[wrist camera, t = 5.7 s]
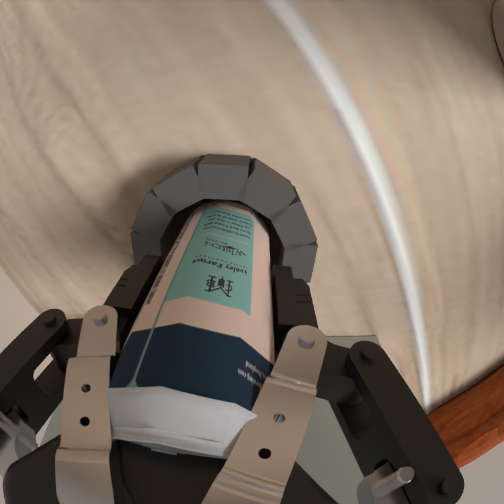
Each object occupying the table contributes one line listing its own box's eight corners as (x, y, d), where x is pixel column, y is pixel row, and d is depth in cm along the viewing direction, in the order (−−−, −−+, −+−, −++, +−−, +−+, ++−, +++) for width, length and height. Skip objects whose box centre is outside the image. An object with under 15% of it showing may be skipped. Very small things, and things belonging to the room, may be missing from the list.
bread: (417, 414, 30) (435, 475, 20) (552, 314, 21) (584, 360, 12) (428, 435, 36) (441, 480, 26) (537, 358, 27) (559, 396, 18)
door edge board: (102, 316, 20) (31, 469, 8) (376, 335, 20) (427, 498, 8) (109, 337, 21) (51, 481, 9) (367, 355, 21) (406, 506, 9)
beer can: (203, 282, 17) (156, 483, 7) (169, 213, 15) (49, 416, 4) (280, 261, 16) (299, 485, 6) (253, 183, 14) (236, 430, 3)
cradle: (143, 154, 14) (124, 164, 12) (318, 162, 14) (330, 174, 12) (156, 293, 19) (146, 318, 16) (294, 304, 19) (298, 330, 16)
